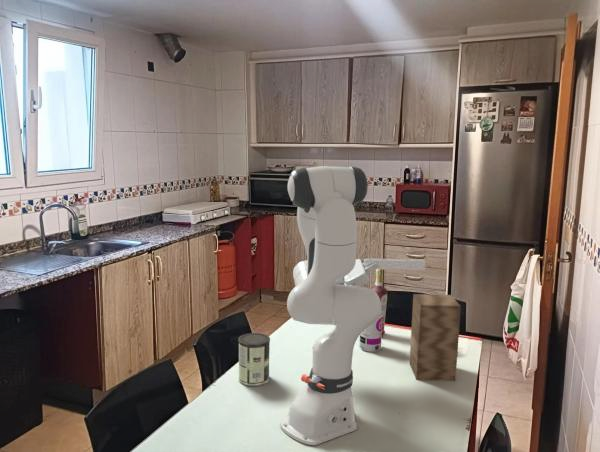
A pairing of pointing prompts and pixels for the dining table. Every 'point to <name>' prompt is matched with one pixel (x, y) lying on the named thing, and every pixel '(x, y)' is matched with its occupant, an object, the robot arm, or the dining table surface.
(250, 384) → the coffee can
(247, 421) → the dining table surface
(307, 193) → the robot arm
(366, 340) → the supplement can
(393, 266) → the aluminium bar
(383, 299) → the liquor
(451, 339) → the walnut stand
